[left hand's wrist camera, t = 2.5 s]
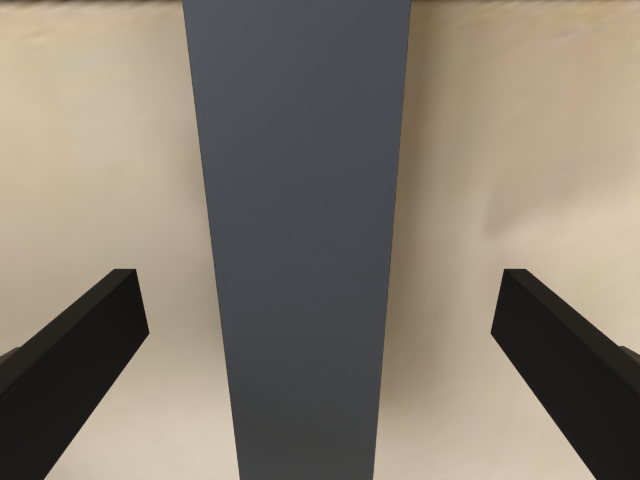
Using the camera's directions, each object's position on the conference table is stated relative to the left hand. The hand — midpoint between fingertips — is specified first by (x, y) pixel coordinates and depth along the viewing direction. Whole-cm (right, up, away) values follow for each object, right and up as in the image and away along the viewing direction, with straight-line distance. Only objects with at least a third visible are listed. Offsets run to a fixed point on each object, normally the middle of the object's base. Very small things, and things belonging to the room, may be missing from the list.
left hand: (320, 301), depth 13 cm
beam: (-1, +34, -7) cm, 35 cm away
